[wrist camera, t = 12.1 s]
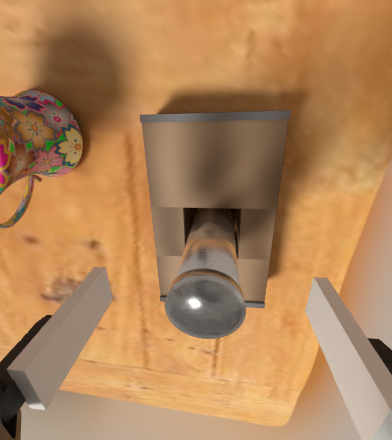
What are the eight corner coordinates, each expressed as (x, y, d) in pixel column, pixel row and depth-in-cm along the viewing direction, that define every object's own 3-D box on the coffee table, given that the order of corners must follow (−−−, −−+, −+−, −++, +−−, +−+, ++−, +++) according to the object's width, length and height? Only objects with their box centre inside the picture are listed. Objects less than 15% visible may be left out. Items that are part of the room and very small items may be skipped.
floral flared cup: (-3, 86, 23) (-171, 57, 13) (82, 87, 22) (-29, 58, 12) (29, 197, 27) (-76, 237, 18) (100, 202, 27) (30, 246, 17)
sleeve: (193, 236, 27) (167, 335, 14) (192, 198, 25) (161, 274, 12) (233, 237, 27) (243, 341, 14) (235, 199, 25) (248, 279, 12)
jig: (168, 278, 30) (160, 301, 26) (154, 116, 22) (139, 114, 18) (258, 283, 29) (264, 308, 25) (277, 113, 21) (290, 110, 17)
